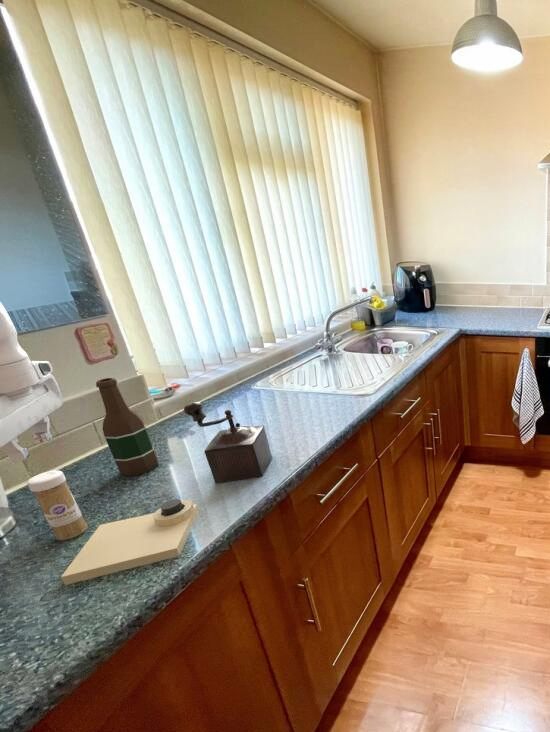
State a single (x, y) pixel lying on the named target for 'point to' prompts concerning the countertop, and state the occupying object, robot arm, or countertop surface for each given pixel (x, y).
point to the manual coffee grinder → (234, 448)
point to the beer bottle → (125, 432)
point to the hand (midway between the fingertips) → (33, 449)
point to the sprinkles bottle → (58, 504)
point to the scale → (132, 543)
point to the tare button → (171, 507)
